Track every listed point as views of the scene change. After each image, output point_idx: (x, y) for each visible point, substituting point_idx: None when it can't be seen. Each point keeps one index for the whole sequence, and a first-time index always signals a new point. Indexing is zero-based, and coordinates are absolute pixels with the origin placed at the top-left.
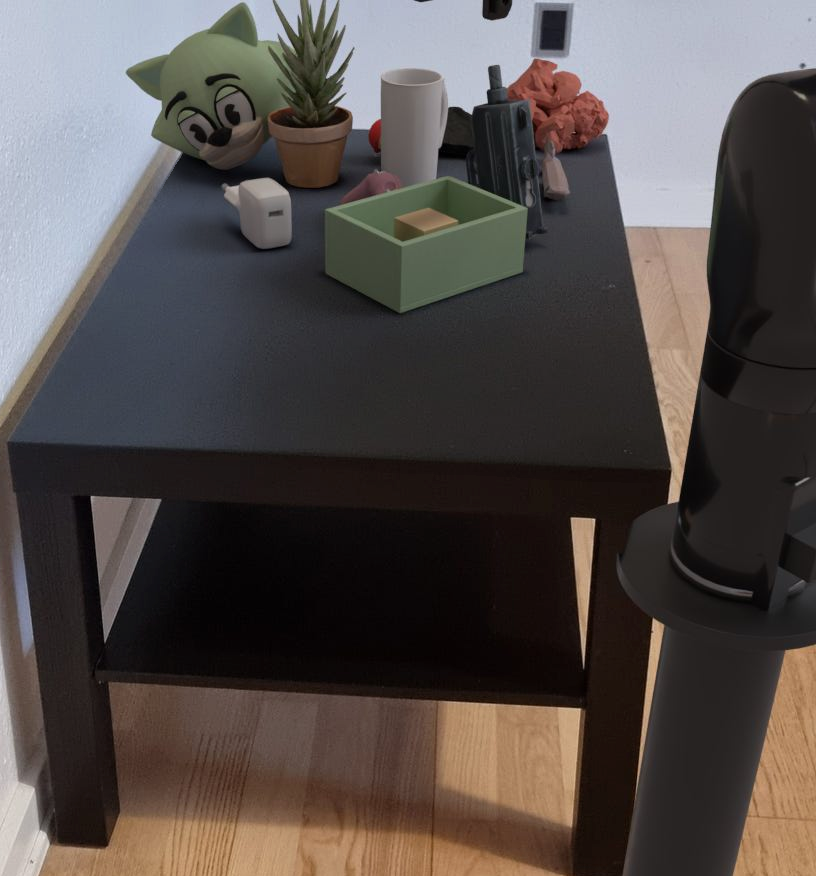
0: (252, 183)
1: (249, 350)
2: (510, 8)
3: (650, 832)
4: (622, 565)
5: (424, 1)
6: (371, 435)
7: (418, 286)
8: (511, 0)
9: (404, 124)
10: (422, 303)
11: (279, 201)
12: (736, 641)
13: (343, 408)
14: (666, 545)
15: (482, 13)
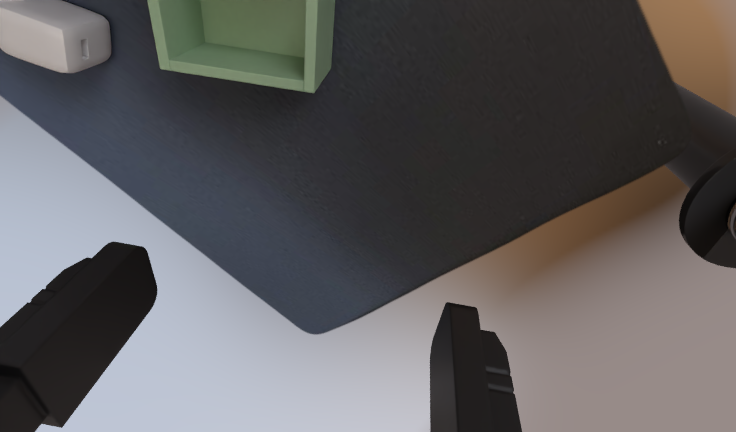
0: (15, 47)
1: (302, 206)
2: (497, 339)
3: None
4: (693, 249)
5: (153, 277)
6: (463, 238)
7: (327, 48)
8: (507, 367)
9: None
10: (332, 36)
11: (73, 47)
12: None
13: (422, 225)
14: (721, 217)
15: (430, 362)
